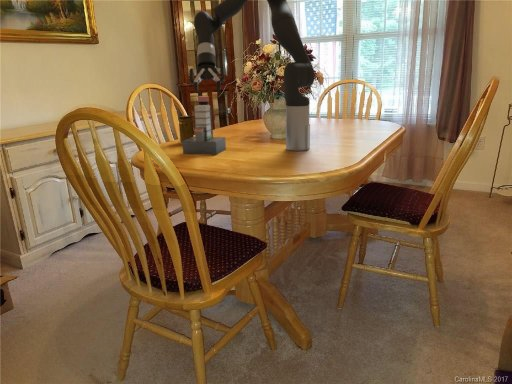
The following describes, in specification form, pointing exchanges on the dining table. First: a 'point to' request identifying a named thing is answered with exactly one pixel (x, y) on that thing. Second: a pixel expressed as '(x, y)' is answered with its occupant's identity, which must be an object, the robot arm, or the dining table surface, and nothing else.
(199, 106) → the column
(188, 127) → the condiment
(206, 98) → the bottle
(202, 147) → the stand base
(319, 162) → the dining table surface
